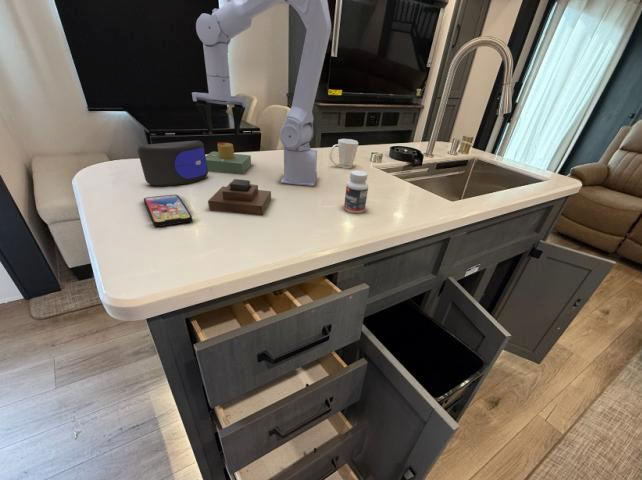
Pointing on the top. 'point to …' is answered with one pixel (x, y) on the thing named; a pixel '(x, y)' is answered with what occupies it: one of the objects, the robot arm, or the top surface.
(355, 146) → the cup
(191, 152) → the leaning round-cornered charcoal block
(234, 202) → the switch plate
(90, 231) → the top surface
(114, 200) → the top surface
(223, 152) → the dimmer knob
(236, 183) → the switch button
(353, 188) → the pill bottle
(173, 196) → the smartphone
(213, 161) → the green flat block
